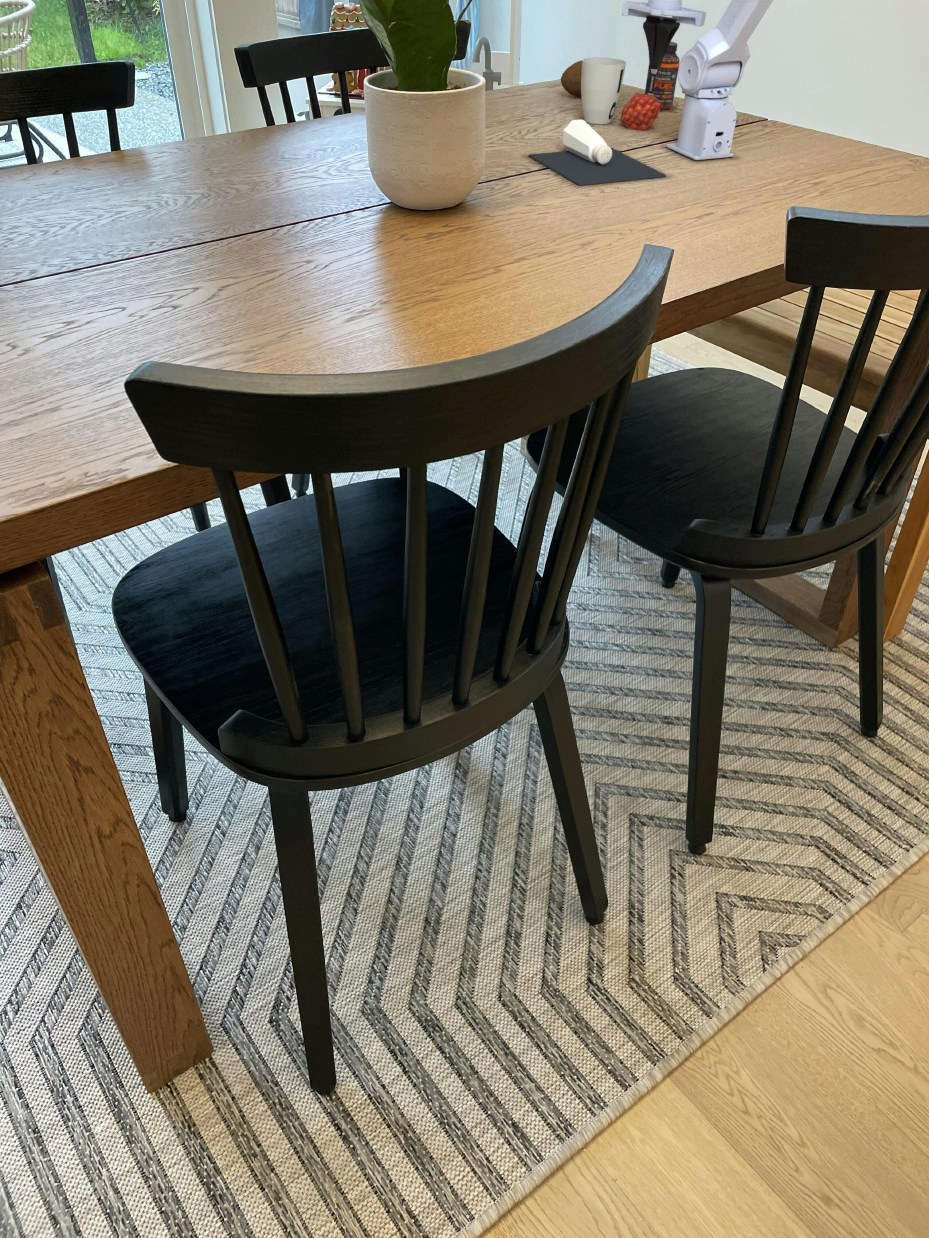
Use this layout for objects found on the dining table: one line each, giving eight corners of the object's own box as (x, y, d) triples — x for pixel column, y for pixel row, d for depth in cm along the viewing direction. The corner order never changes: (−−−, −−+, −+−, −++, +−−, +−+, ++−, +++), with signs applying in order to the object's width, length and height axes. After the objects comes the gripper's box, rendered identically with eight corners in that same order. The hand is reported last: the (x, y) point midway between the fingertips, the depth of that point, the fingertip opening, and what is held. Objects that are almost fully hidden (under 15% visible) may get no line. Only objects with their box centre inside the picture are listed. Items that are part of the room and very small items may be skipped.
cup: (619, 127, 174) (627, 66, 167) (576, 124, 174) (583, 63, 167) (616, 117, 180) (624, 58, 173) (575, 115, 180) (581, 56, 174)
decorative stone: (625, 136, 177) (666, 121, 174) (622, 139, 172) (665, 123, 169) (616, 101, 175) (658, 84, 172) (613, 102, 169) (656, 85, 166)
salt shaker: (555, 146, 158) (584, 167, 150) (570, 113, 155) (600, 132, 147) (580, 157, 160) (609, 178, 153) (594, 125, 158) (625, 144, 150)
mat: (665, 177, 149) (666, 175, 148) (578, 186, 144) (578, 184, 143) (610, 149, 161) (610, 147, 161) (528, 156, 156) (528, 154, 156)
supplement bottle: (650, 111, 184) (659, 45, 177) (638, 104, 189) (646, 40, 181) (677, 110, 186) (687, 45, 178) (664, 103, 190) (674, 39, 183)
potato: (618, 99, 192) (622, 60, 188) (571, 103, 188) (575, 64, 184) (600, 92, 197) (604, 55, 192) (554, 96, 193) (557, 58, 188)
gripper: (620, -27, 155) (608, 65, 164) (701, -16, 150) (685, 78, 159) (636, -31, 159) (624, 59, 169) (716, -21, 154) (699, 71, 163)
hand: (654, 68), depth 164 cm, fingers closed
